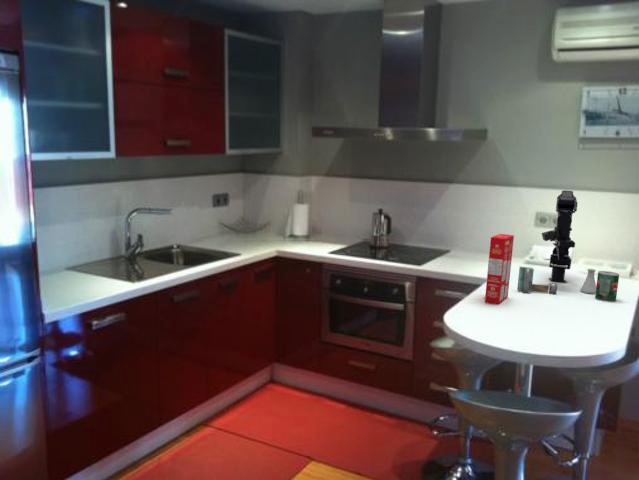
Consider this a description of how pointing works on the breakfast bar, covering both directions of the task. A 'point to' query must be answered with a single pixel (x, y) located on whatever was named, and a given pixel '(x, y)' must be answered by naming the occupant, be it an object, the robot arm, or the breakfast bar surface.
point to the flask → (589, 283)
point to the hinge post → (552, 288)
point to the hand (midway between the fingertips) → (559, 260)
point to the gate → (532, 286)
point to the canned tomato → (607, 286)
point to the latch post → (526, 281)
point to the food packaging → (499, 268)
